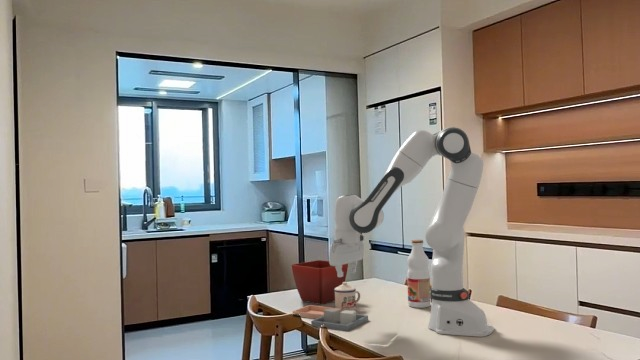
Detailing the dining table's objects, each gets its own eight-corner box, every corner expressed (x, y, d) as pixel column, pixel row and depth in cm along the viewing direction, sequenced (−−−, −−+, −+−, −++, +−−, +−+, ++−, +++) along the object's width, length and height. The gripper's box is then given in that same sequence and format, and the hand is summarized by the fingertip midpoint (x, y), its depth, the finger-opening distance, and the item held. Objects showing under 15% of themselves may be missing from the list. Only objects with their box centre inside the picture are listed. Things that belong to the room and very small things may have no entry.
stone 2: (356, 323, 194) (355, 310, 194) (352, 326, 190) (351, 313, 190) (344, 322, 196) (344, 310, 196) (340, 325, 192) (340, 312, 192)
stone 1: (340, 321, 197) (340, 309, 197) (333, 324, 193) (332, 311, 194) (331, 319, 200) (331, 308, 200) (323, 322, 196) (323, 310, 196)
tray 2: (368, 321, 198) (368, 315, 198) (347, 332, 184) (347, 325, 184) (333, 317, 206) (333, 311, 206) (311, 327, 192) (311, 320, 192)
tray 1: (341, 314, 210) (341, 308, 210) (325, 321, 200) (325, 315, 200) (309, 310, 218) (309, 305, 218) (292, 317, 208) (292, 311, 208)
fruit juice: (430, 308, 216) (428, 241, 217) (407, 308, 218) (405, 241, 219) (430, 303, 225) (428, 238, 226) (408, 303, 227) (406, 239, 228)
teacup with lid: (342, 313, 212) (341, 285, 212) (330, 309, 220) (329, 281, 220) (366, 309, 218) (365, 281, 218) (354, 305, 225) (353, 278, 226)
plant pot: (350, 299, 238) (349, 262, 238) (321, 307, 224) (320, 268, 224) (320, 294, 251) (319, 259, 251) (291, 301, 237) (290, 264, 238)
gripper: (339, 240, 183) (340, 280, 183) (366, 235, 201) (366, 271, 200) (324, 240, 187) (324, 278, 187) (352, 235, 204) (352, 270, 204)
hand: (346, 275), depth 194 cm, fingers open, 8 cm apart
